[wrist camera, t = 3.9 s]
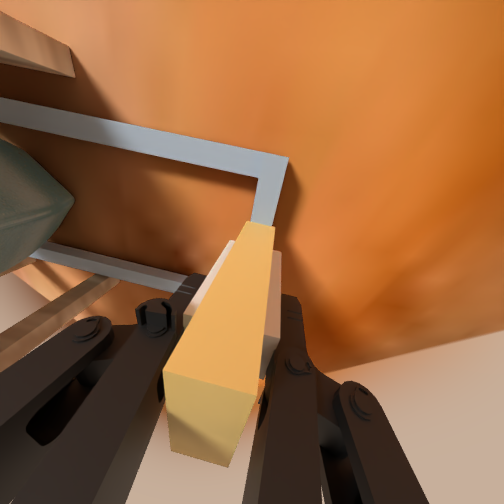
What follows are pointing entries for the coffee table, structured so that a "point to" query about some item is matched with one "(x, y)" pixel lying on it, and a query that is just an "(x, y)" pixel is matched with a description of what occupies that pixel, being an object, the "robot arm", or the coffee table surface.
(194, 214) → the coffee table surface
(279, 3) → the coffee table surface
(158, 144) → the frame with square tube
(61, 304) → the shelf
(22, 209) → the flower pot
